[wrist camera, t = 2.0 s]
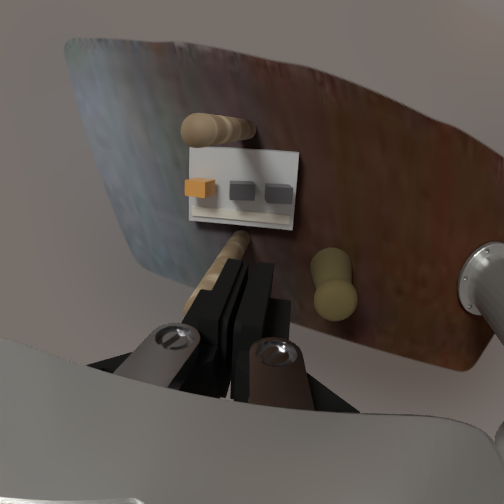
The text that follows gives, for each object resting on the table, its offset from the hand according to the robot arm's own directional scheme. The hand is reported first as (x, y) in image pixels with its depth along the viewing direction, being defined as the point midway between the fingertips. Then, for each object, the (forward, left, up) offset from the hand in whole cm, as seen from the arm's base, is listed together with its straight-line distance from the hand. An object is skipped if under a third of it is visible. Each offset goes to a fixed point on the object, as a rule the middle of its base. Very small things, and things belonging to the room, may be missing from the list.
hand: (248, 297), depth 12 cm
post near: (+6, -6, -32) cm, 33 cm away
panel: (+6, +2, -32) cm, 33 cm away
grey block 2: (+2, +2, -30) cm, 30 cm away
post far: (+6, +9, -32) cm, 34 cm away
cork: (-7, +12, -33) cm, 35 cm away
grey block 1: (+6, +2, -30) cm, 31 cm away
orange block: (+11, +2, -30) cm, 32 cm away
